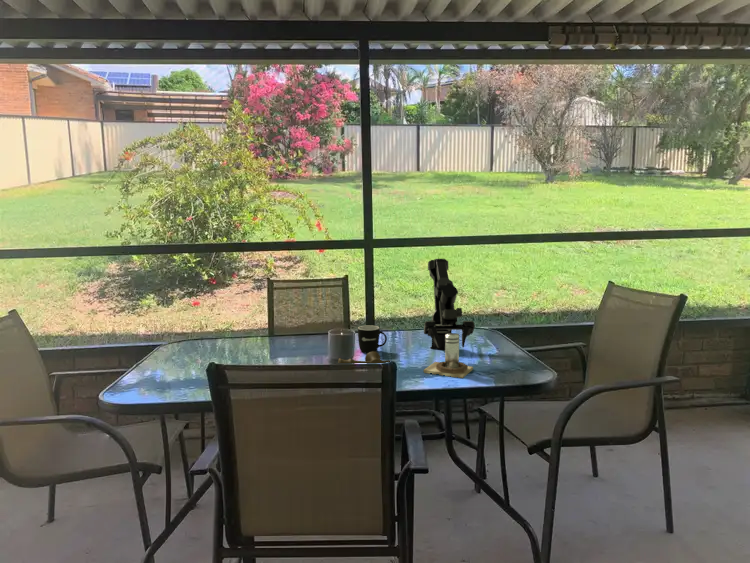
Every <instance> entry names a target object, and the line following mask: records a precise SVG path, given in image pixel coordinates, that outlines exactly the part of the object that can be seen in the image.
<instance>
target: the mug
mask: <svg viewBox="0 0 750 563" xmlns="http://www.w3.org/2000/svg"><path fill="white" fill-rule="evenodd" d="M380 334H382V335H383V336H384V338H385V339H384V342H383V343H381V344H380V343H379V341H380ZM357 338H358V339H357V341H358V346H359V350H360V352H361V353H363V354H368V353H369V352H372V351H373V352H377V351H378V349H379V348H381V347H383V346H385V344H386V343H387V341H388V337H387V335H386V333H385V332H383V331H381V330H380V327H379V326H377V325H372V324H371V325H360V326H358V327H357Z"/></svg>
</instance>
